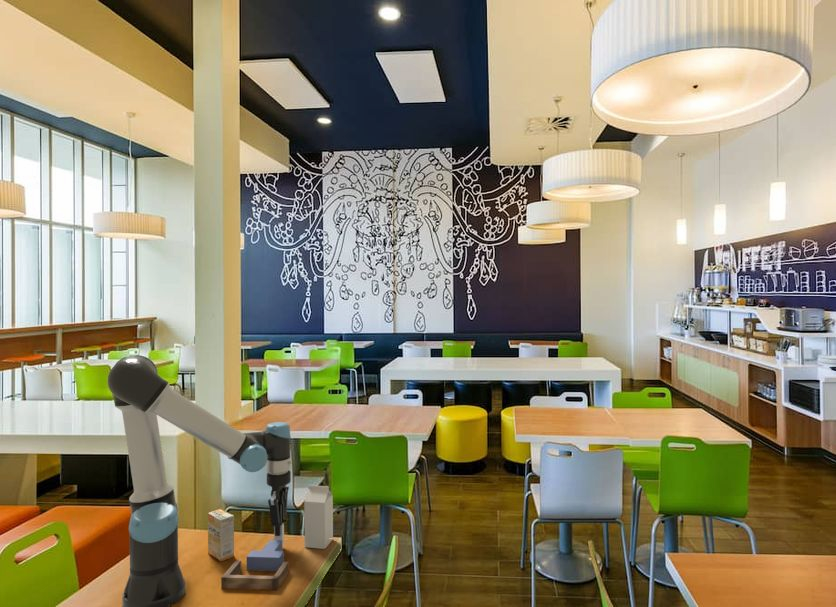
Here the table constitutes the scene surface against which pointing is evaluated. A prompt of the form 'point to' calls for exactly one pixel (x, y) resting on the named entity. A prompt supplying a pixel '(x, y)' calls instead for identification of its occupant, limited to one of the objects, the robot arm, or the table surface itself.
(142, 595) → the robot arm
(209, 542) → the supplement box
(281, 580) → the walnut dock
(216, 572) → the table surface
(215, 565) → the table surface
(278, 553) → the slate blue t block
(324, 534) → the milk carton
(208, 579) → the table surface
